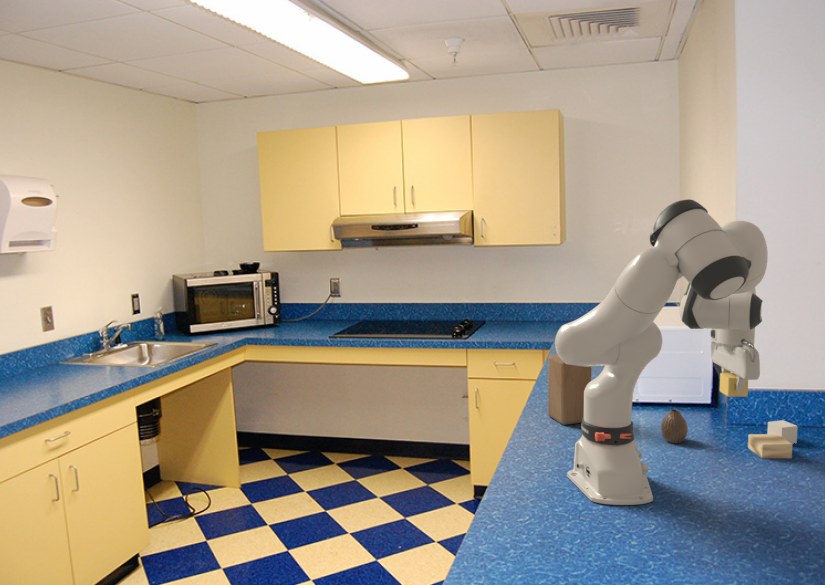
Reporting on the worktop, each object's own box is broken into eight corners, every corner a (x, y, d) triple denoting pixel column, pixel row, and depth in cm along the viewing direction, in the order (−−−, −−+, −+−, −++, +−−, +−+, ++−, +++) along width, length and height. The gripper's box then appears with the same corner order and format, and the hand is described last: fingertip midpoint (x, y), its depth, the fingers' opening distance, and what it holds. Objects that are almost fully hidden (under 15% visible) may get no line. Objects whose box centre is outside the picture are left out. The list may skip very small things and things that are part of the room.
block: (562, 426, 192) (563, 361, 190) (547, 416, 202) (547, 354, 200) (592, 422, 195) (592, 358, 193) (575, 412, 205) (575, 351, 202)
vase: (665, 434, 183) (666, 405, 182) (690, 439, 179) (691, 409, 178) (657, 441, 178) (657, 411, 177) (682, 447, 174) (683, 416, 172)
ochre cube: (747, 396, 166) (748, 377, 166) (728, 396, 166) (728, 377, 166) (738, 390, 171) (739, 372, 170) (719, 391, 171) (720, 373, 171)
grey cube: (796, 443, 174) (797, 425, 174) (781, 445, 173) (782, 427, 173) (782, 437, 179) (783, 420, 179) (767, 439, 178) (767, 421, 178)
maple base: (791, 459, 164) (792, 444, 164) (762, 459, 165) (762, 444, 164) (776, 448, 172) (776, 434, 171) (747, 448, 172) (748, 434, 172)
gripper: (768, 344, 156) (765, 399, 158) (730, 328, 177) (728, 377, 178) (742, 344, 157) (739, 399, 158) (706, 329, 177) (705, 378, 179)
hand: (733, 387), depth 169 cm, fingers closed on ochre cube, 5 cm apart
